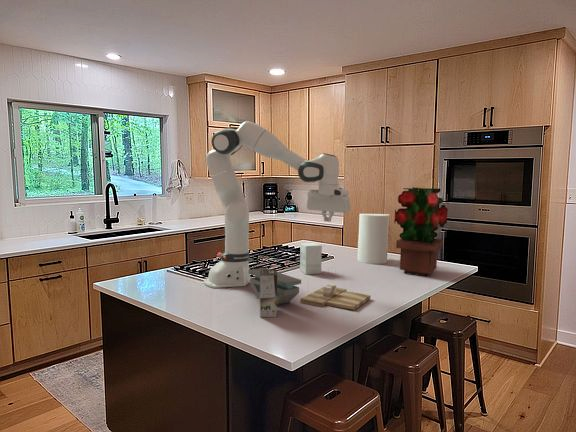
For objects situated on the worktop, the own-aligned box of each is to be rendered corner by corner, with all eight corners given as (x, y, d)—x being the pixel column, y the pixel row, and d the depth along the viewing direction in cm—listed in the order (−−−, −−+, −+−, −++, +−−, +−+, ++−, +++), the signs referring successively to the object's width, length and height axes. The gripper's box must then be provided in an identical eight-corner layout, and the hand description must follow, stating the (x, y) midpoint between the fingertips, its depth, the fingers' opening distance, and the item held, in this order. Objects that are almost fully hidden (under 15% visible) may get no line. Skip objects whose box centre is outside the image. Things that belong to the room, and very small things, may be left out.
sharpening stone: (248, 294, 190) (248, 269, 189) (262, 291, 195) (263, 267, 194) (285, 310, 171) (286, 283, 170) (300, 306, 176) (301, 279, 175)
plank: (353, 310, 172) (354, 306, 172) (325, 305, 178) (325, 301, 178) (370, 298, 187) (370, 295, 187) (343, 294, 194) (343, 291, 193)
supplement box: (315, 269, 237) (316, 242, 235) (321, 273, 229) (322, 245, 227) (299, 270, 234) (300, 242, 232) (305, 274, 226) (306, 245, 224)
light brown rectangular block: (321, 307, 176) (322, 293, 175) (300, 302, 181) (300, 289, 180) (346, 292, 196) (346, 280, 195) (326, 288, 201) (326, 277, 201)
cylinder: (389, 264, 253) (392, 216, 249) (359, 263, 253) (361, 215, 249) (383, 257, 270) (386, 212, 266) (355, 257, 270) (357, 211, 267)
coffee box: (276, 317, 163) (277, 275, 161) (259, 317, 163) (260, 275, 161) (275, 309, 172) (276, 268, 170) (259, 309, 172) (259, 268, 170)
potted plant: (434, 280, 221) (440, 190, 215) (391, 273, 232) (396, 188, 226) (443, 271, 240) (449, 188, 235) (403, 265, 251) (407, 186, 245)
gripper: (304, 189, 198) (303, 220, 200) (346, 192, 188) (345, 224, 190) (311, 189, 204) (310, 218, 206) (352, 191, 193) (351, 222, 195)
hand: (327, 221), depth 198 cm, fingers closed
